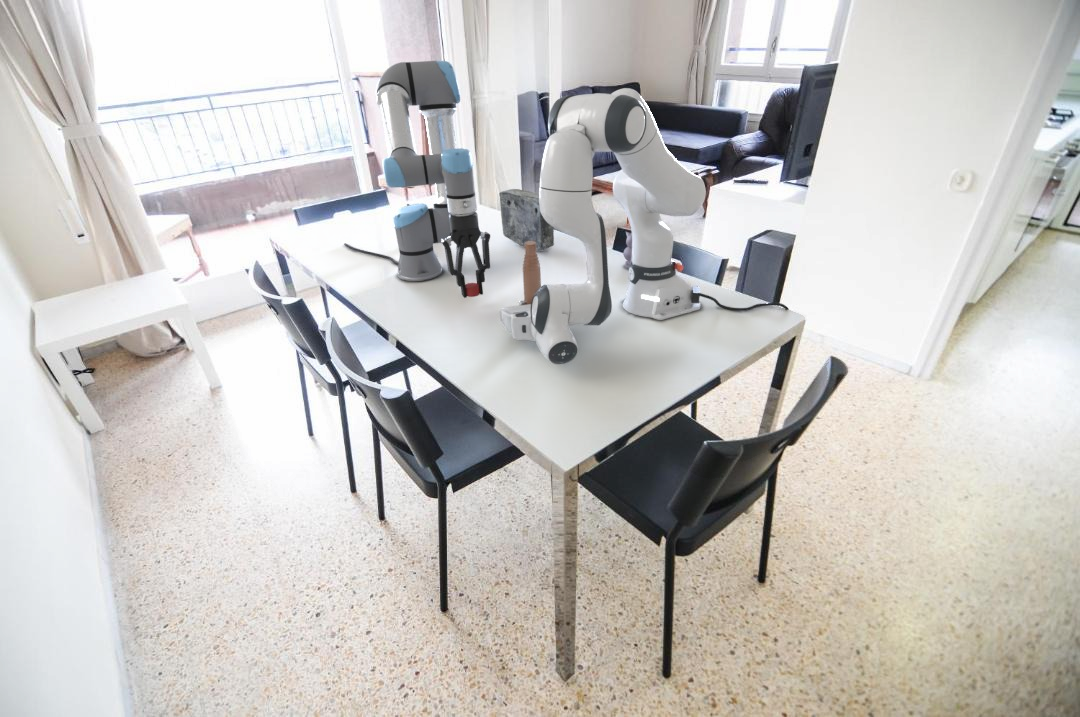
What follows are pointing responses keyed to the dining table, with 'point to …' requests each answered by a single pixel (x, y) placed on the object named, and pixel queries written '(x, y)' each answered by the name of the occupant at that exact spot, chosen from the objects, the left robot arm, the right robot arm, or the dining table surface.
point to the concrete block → (524, 219)
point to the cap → (472, 289)
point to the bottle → (531, 272)
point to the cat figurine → (628, 250)
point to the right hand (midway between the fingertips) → (532, 301)
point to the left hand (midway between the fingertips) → (472, 294)
